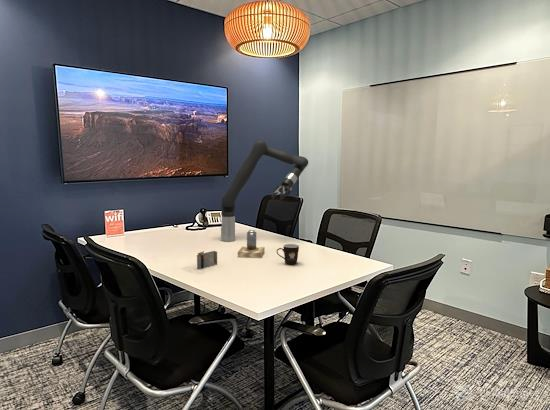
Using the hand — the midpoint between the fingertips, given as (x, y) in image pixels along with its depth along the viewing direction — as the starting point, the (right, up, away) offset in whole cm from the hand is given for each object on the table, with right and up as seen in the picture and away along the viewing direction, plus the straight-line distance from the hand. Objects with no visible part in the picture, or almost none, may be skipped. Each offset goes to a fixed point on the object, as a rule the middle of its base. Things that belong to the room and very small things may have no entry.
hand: (276, 198), depth 246 cm
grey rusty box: (-37, -37, -50) cm, 72 cm away
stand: (-15, -34, -25) cm, 45 cm away
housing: (-15, -30, -25) cm, 42 cm away
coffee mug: (+6, -36, -43) cm, 57 cm away
